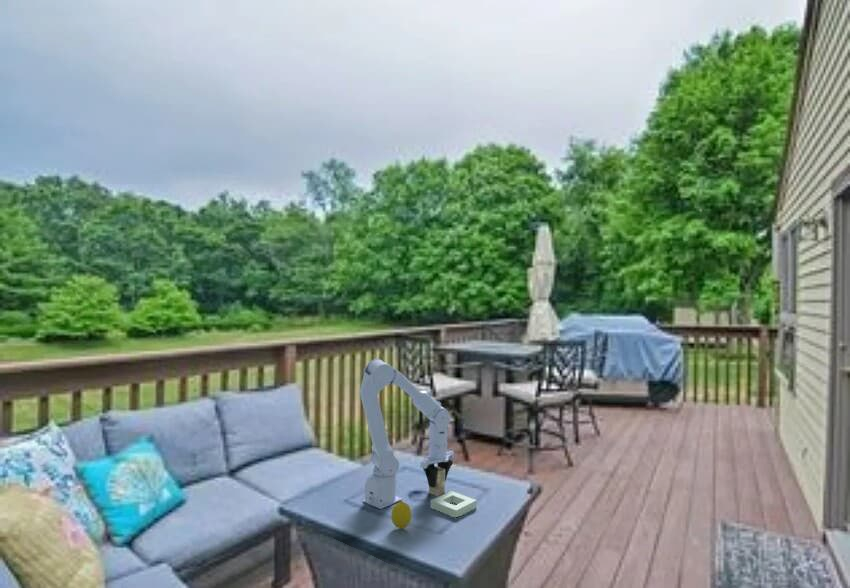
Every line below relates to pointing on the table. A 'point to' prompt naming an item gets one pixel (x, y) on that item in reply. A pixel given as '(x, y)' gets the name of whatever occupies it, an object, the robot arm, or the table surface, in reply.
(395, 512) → the lemon
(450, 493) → the socket block
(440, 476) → the peg
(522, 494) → the table surface
